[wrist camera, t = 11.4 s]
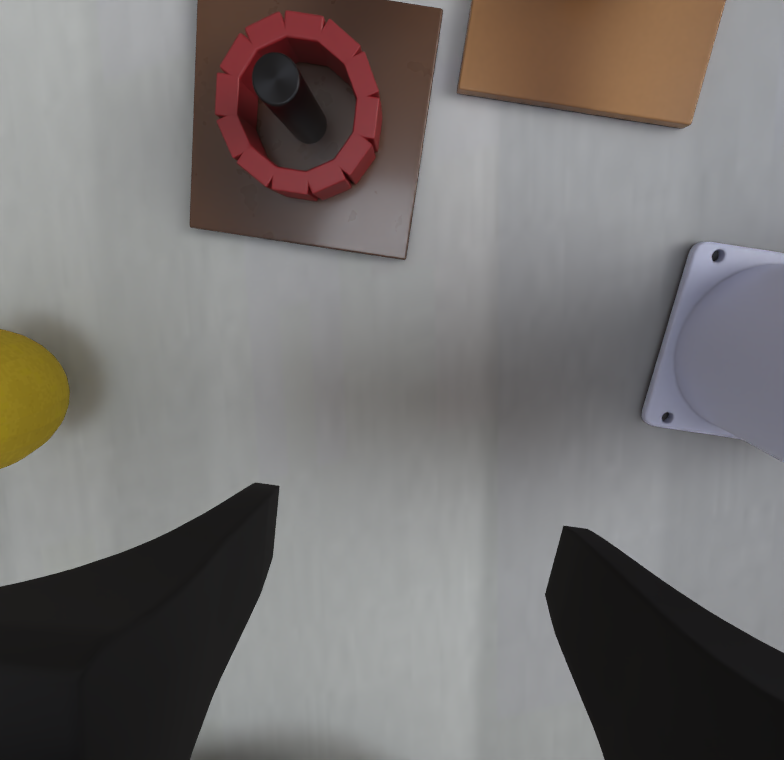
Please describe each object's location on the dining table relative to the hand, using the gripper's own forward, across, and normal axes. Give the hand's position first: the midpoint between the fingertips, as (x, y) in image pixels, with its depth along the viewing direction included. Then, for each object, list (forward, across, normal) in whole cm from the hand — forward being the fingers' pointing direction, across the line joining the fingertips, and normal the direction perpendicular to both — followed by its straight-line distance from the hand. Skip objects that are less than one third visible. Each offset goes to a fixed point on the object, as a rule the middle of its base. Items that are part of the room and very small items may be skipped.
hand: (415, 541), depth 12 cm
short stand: (+10, -4, -18) cm, 21 cm away
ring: (+10, +6, -11) cm, 16 cm away
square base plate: (+10, +6, -11) cm, 16 cm away
